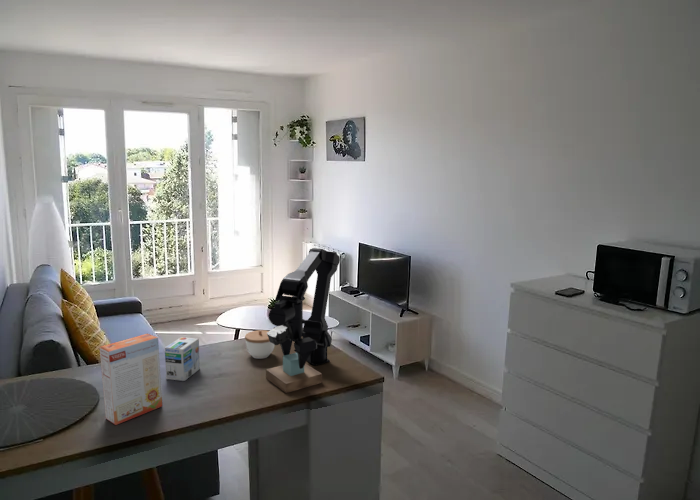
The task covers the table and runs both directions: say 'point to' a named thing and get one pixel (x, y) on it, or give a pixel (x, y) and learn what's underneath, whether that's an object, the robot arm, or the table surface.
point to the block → (291, 364)
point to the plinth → (293, 378)
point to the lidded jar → (258, 344)
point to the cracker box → (131, 377)
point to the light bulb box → (182, 358)
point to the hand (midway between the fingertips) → (293, 363)
